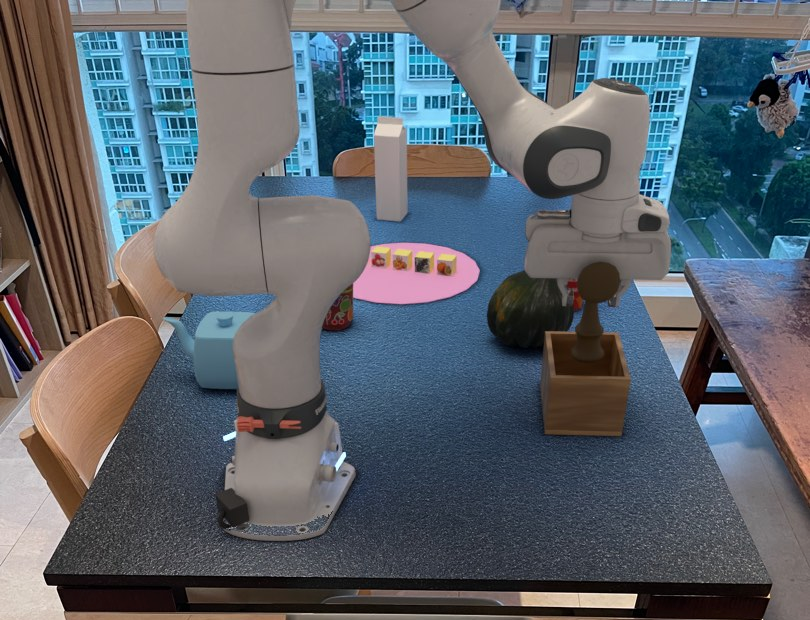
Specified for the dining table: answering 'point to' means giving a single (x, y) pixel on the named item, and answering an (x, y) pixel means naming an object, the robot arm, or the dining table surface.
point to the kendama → (593, 309)
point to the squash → (527, 310)
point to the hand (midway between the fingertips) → (590, 305)
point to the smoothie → (340, 311)
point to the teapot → (213, 348)
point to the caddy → (583, 387)
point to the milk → (390, 168)
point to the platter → (414, 274)
